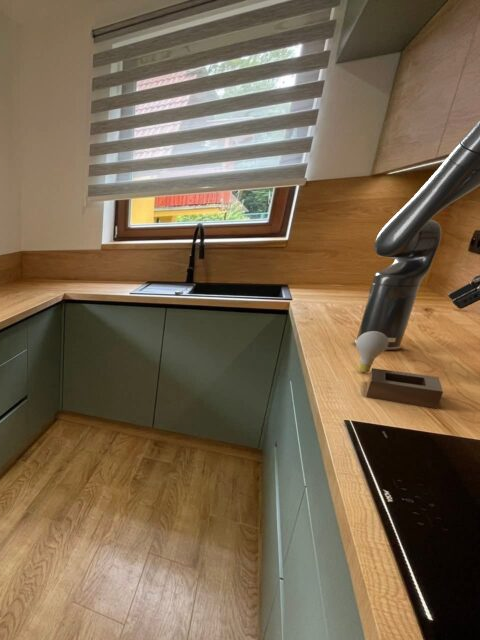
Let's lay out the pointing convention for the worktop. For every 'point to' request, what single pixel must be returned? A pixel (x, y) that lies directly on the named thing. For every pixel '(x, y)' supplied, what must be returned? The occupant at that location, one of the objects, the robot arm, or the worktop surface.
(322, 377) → the worktop surface
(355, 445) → the worktop surface
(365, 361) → the light bulb
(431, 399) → the socket block
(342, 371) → the worktop surface
